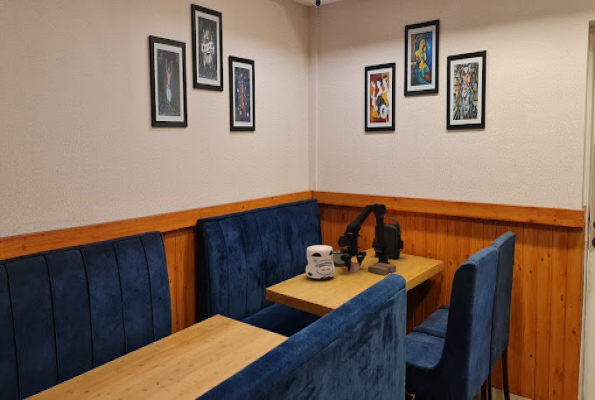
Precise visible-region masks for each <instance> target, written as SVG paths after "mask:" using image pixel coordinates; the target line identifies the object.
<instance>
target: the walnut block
mask: <svg viewBox="0 0 595 400" xmlns="http://www.w3.org/2000/svg"><path fill="white" fill-rule="evenodd" d="M396 272H397V266H396V265H394V264H391V263H389V264H385V263H377V262H376V263H374V264H371V265H368V266H367V273H371V274H374V275H378V276H379V275H380V276H387V275H390V274H393V273H396ZM389 273H390V274H389Z"/></svg>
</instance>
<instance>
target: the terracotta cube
mask: <svg viewBox="0 0 595 400" xmlns="http://www.w3.org/2000/svg"><path fill="white" fill-rule="evenodd" d="M348 272H350V273H354V274H355V273H358V272H360V268H359V263H357V262H356V261H352V263H351V268H350V271H348Z"/></svg>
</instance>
